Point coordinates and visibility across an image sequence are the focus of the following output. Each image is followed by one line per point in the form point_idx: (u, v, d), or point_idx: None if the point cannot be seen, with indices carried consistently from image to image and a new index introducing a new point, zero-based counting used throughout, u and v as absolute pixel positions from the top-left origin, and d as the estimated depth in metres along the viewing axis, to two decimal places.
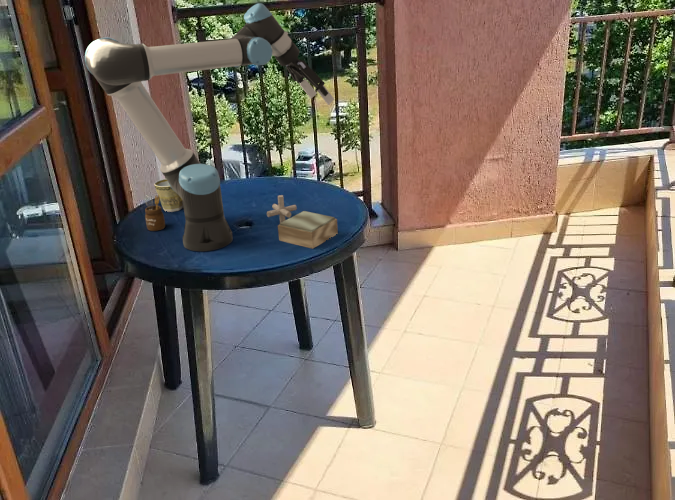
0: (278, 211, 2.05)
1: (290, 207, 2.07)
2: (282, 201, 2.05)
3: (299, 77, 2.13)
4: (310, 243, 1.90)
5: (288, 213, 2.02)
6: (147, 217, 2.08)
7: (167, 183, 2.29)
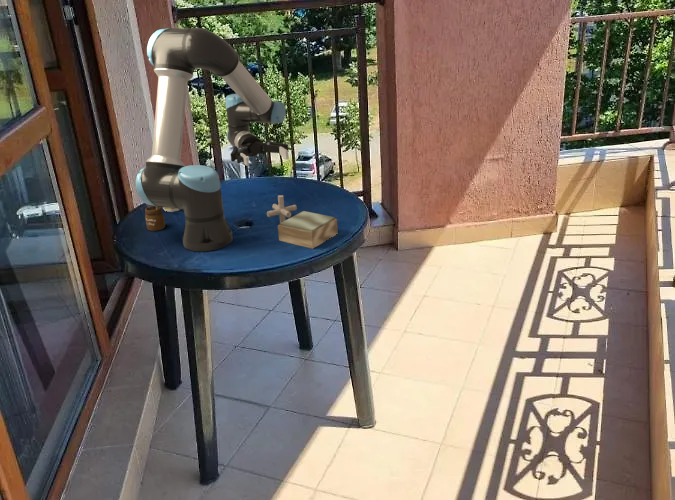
0: (278, 211, 2.05)
1: (290, 207, 2.07)
2: (283, 201, 2.04)
3: (243, 154, 2.13)
4: (310, 243, 1.90)
5: (288, 213, 2.02)
6: (147, 217, 2.08)
7: None
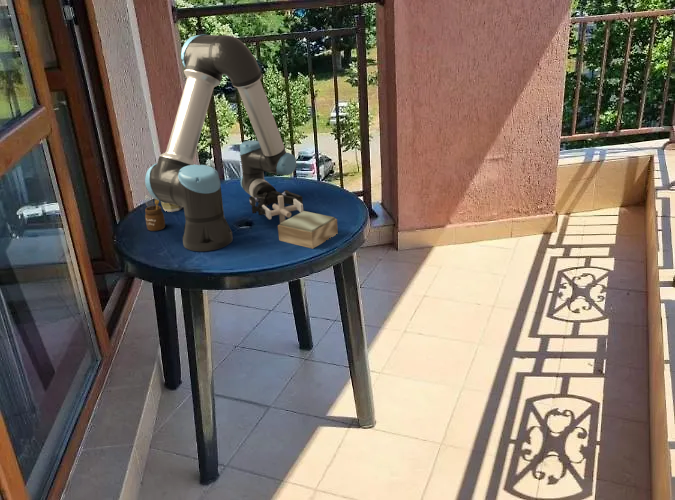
0: (278, 211, 2.05)
1: (290, 207, 2.07)
2: (283, 201, 2.04)
3: None
4: (310, 243, 1.90)
5: (288, 213, 2.02)
6: (147, 217, 2.08)
7: None
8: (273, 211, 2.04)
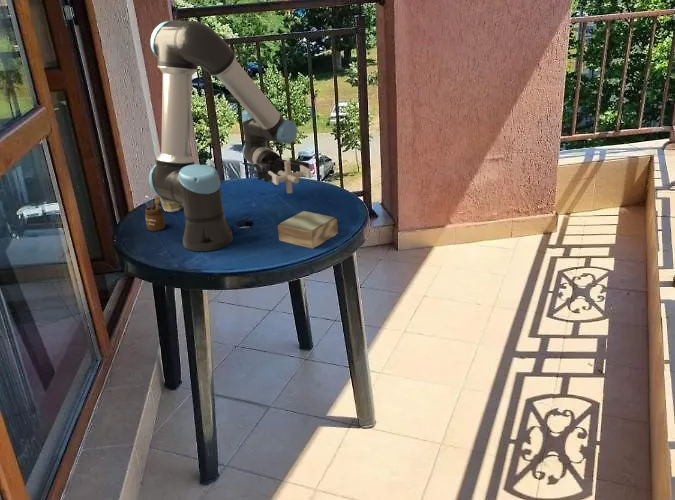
0: (285, 177, 1.98)
1: (297, 173, 2.00)
2: (289, 166, 1.98)
3: None
4: (310, 243, 1.90)
5: (296, 179, 1.96)
6: (147, 217, 2.08)
7: None
8: (280, 177, 1.97)
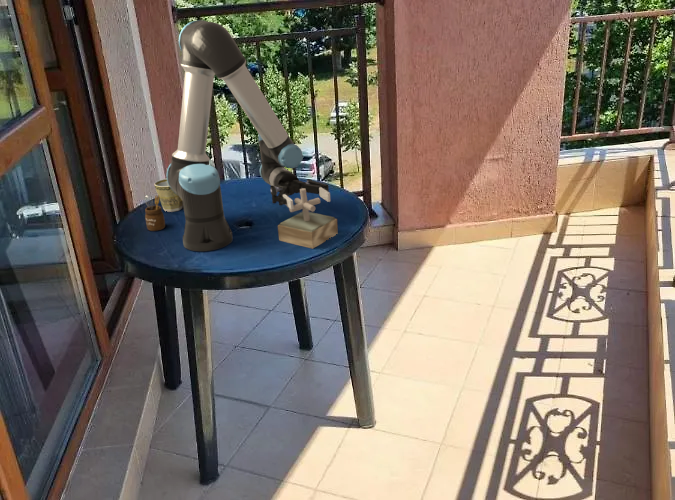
0: (301, 205, 1.92)
1: (313, 200, 1.94)
2: (305, 194, 1.92)
3: (284, 195, 1.95)
4: (310, 243, 1.90)
5: (312, 207, 1.90)
6: (147, 217, 2.08)
7: (167, 183, 2.29)
8: (296, 206, 1.92)
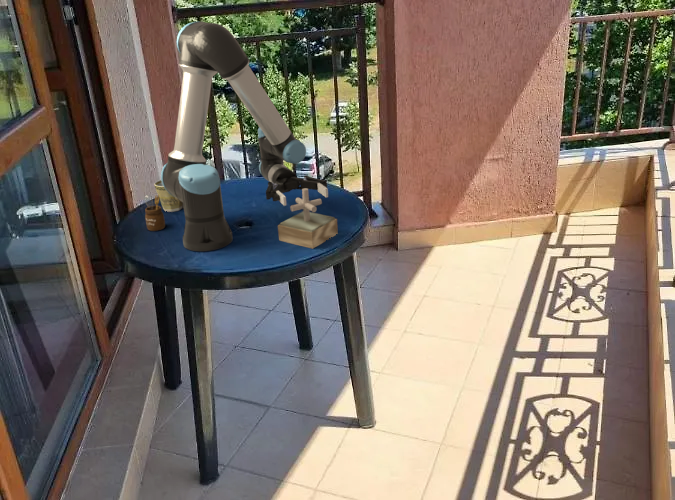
0: (302, 205, 1.92)
1: (315, 201, 1.95)
2: (307, 194, 1.92)
3: None
4: (310, 243, 1.90)
5: (313, 207, 1.90)
6: (147, 217, 2.08)
7: None
8: (297, 205, 1.92)
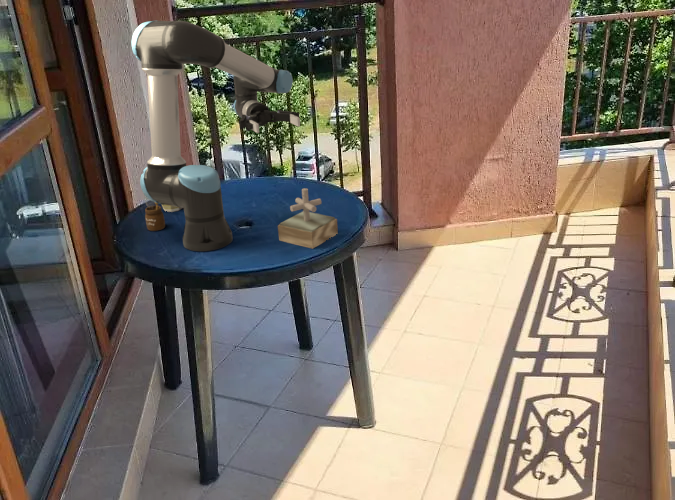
0: (302, 205, 1.92)
1: (315, 201, 1.95)
2: (307, 194, 1.92)
3: None
4: (310, 243, 1.90)
5: (313, 207, 1.90)
6: (147, 217, 2.08)
7: None
8: (297, 205, 1.92)
